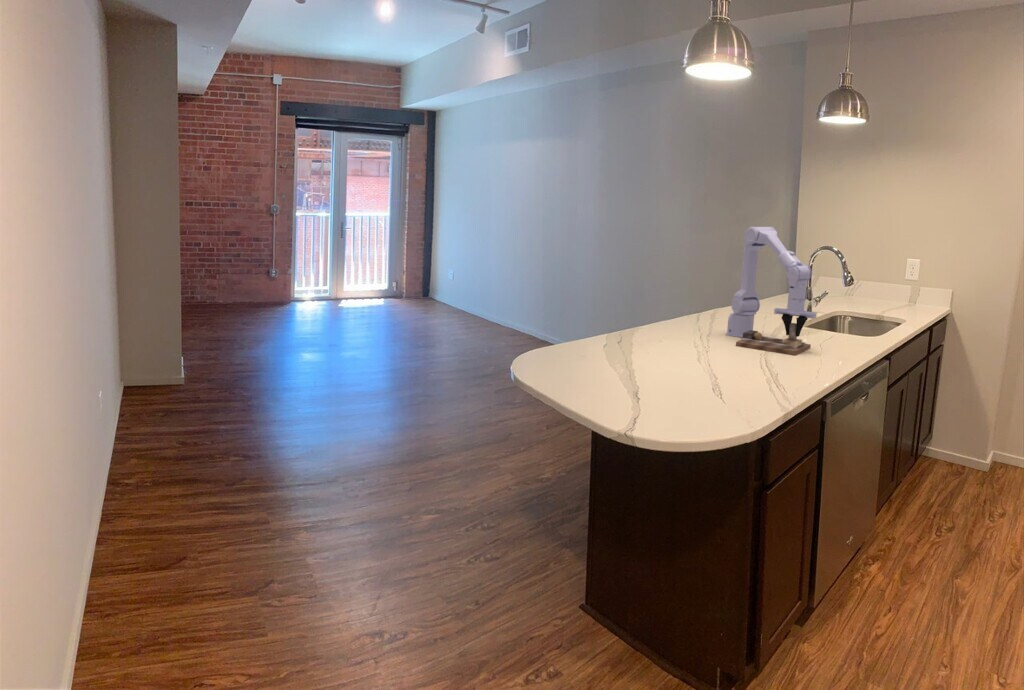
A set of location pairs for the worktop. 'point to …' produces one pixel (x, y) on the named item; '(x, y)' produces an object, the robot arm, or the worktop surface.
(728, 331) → the robot arm
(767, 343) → the board
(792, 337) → the press ram
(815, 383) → the worktop surface
